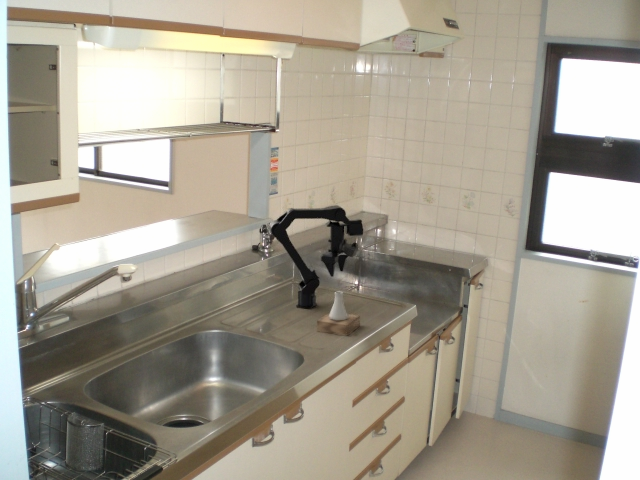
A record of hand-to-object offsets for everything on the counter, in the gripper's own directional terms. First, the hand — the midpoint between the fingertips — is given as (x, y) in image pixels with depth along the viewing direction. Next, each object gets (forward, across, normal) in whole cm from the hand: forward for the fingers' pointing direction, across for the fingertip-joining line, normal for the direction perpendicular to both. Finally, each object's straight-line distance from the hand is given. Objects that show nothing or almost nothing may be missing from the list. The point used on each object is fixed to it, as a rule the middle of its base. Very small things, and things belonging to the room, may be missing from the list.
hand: (336, 273), depth 285 cm
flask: (+9, -26, -13) cm, 30 cm away
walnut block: (+13, -26, -13) cm, 32 cm away
